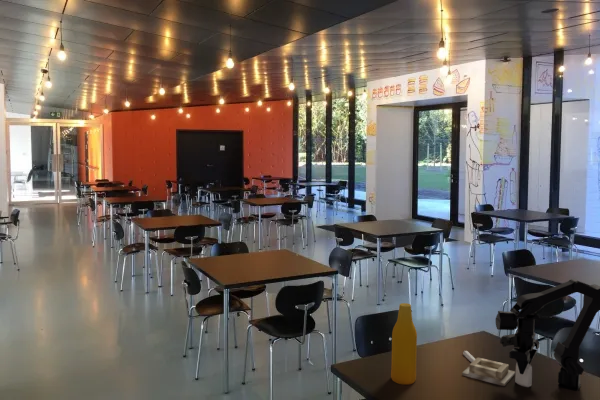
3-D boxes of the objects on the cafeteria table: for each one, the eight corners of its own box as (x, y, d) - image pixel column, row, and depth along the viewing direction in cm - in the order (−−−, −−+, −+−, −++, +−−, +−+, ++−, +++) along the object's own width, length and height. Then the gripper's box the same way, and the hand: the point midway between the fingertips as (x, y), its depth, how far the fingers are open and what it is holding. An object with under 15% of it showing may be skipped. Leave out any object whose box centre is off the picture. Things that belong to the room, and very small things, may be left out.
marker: (463, 354, 230) (478, 369, 214) (459, 352, 230) (474, 366, 214) (466, 349, 230) (481, 363, 214) (462, 347, 230) (477, 361, 214)
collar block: (515, 374, 207) (515, 364, 207) (504, 386, 196) (505, 375, 196) (474, 364, 217) (474, 354, 216) (462, 375, 206) (462, 365, 205)
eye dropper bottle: (521, 388, 195) (523, 356, 194) (513, 381, 200) (515, 350, 199) (532, 387, 195) (534, 355, 194) (524, 380, 201) (525, 350, 200)
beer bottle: (386, 376, 204) (388, 302, 201) (407, 373, 207) (409, 300, 204) (399, 386, 195) (401, 309, 193) (420, 383, 198) (422, 306, 196)
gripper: (510, 320, 208) (508, 358, 210) (495, 332, 193) (493, 373, 195) (540, 325, 202) (538, 365, 203) (527, 338, 187) (525, 381, 188)
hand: (523, 371), depth 197 cm, fingers open, 6 cm apart
